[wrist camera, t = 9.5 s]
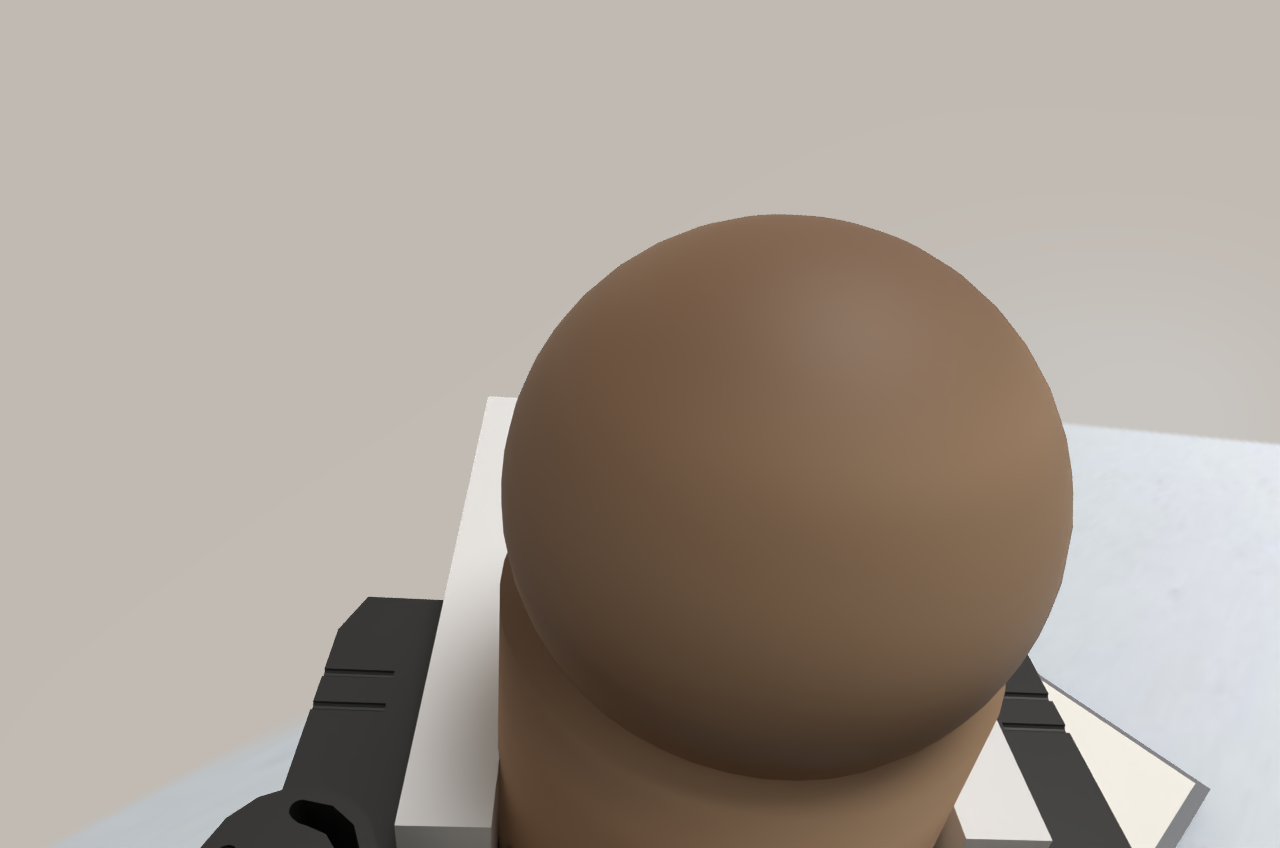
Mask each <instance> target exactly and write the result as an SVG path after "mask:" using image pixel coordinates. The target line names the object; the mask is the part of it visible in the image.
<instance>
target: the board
mask: <svg viewBox="0 0 1280 848" xmlns="http://www.w3.org/2000/svg"><path fill="white" fill-rule="evenodd" d="M1038 675H1039V674H1038ZM1039 677H1040V679H1041V680H1042V682H1043V684H1044V686H1045V688H1046V690H1047V692H1048V693H1049V694H1048V699H1049V701H1053V703H1054V705H1055V706H1056V708H1057V710H1058V712H1059V714H1060V716H1061V718H1062V719H1063V721H1064V723H1065V731H1066V733H1070V734H1071V736H1072V738H1073V740H1074V742H1075V743H1076V745H1077V747H1078V749H1079V751H1080V753H1081V755H1082V756H1083V758H1084V760H1085V762H1086V764H1087V766H1088V768H1089V769H1090V771H1091V773H1092V775H1093V777H1094V779H1095V781H1096V782H1097V784H1098V786H1099V788H1100V790H1101V792H1102V794H1103V795H1104V797H1105V799H1106V801H1107V803H1108V805H1109V807H1110V808H1111V810H1112V812H1113V814H1114V816H1115V818H1116V820H1117V821H1118V823H1119V825H1120V827H1121V829H1122V831H1123V832H1124V834H1125V836H1126V838H1127V840H1128V842H1129V844H1130V845H1131V847H1132V848H1175V847H1176V845H1177V844H1178V842H1179V840H1180V839H1181V837H1182V835H1183V834H1184V832H1185V830H1186V829H1187V827H1188V825H1189V824H1190V822H1191V820H1192V819H1193V817H1194V816H1195V814H1196V812H1197V811H1198V809H1199V807H1200V806H1201V804H1202V802H1203V801H1204V799H1205V797H1206V796H1207V794H1208V792H1209V791H1210V789H1209V788H1208V787H1206V786H1205V785H1203V784H1202V783H1200V782H1199V781H1197V780H1196V779H1194V778H1193V777H1191V776H1190V775H1188V774H1187V773H1186V772H1184V771H1183V770H1181V769H1180V768H1178V767H1177V766H1175V765H1174V764H1172V763H1171V762H1169V761H1168V760H1166V759H1165V758H1163V757H1162V756H1160V755H1159V754H1157V753H1156V752H1154V751H1153V750H1151V749H1150V748H1148V747H1147V746H1145V745H1144V744H1142V743H1141V742H1139V741H1138V740H1136V739H1135V738H1133V737H1132V736H1130V735H1129V734H1127V733H1126V732H1124V731H1123V730H1121V729H1120V728H1118V727H1117V726H1115V725H1114V724H1112V723H1111V722H1109V721H1108V720H1106V719H1105V718H1103V717H1102V716H1100V715H1099V714H1097V713H1096V712H1094V711H1093V710H1091V709H1090V708H1088V707H1087V706H1085V705H1084V704H1082V703H1081V702H1079V701H1078V700H1076V699H1075V698H1073V697H1072V696H1070V695H1069V694H1067V693H1066V692H1064V691H1063V690H1061V689H1060V688H1058V687H1057V686H1055V685H1054V684H1052V683H1051V682H1049V681H1048V680H1046V679H1045V678H1043V677H1042V676H1040V675H1039Z"/></svg>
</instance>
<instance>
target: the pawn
mask: <svg viewBox="0 0 1280 848" xmlns="http://www.w3.org/2000/svg"><path fill="white" fill-rule="evenodd" d="M501 507H502V521H503V534H504V538H505V543H506V548H507V554H506V557H505V560H504V564H503V569H502V575H501V580H500V610H499V687H498V750H499V819H498V848H933V846H934V844H935V843H936V841H937V839H938V837H939V835H940V833H941V831H942V829H943V827H944V825H945V823H946V821H947V819H948V817H949V815H950V813H951V811H952V809H953V807H954V805H955V803H956V801H957V799H958V797H959V795H960V793H961V791H962V789H963V787H964V785H965V783H966V781H967V779H968V777H969V775H970V773H971V771H972V769H973V767H974V765H975V763H976V761H977V759H978V757H979V755H980V753H981V751H982V749H983V747H984V745H985V743H986V741H987V739H988V737H989V735H990V733H991V731H992V729H993V726H994V724H995V722H996V720H997V718H998V716H999V714H1000V710H1001V706H1002V702H1003V698H1004V694H1005V687H1006V682H1007V681H1008V680H1009V679H1010V678H1011V676H1012V675H1013V674H1014V673H1015V671H1016V670H1017V669H1018V668H1019V666H1020V665H1021V664H1022V663H1023V661H1024V659H1025V658H1026V656H1027V655H1028V653H1029V651H1030V650H1031V648H1032V647H1033V645H1034V643H1035V642H1036V640H1037V639H1038V637H1039V635H1040V633H1041V631H1042V629H1043V627H1044V625H1045V623H1046V621H1047V618H1048V616H1049V614H1050V612H1051V609H1052V607H1053V604H1054V602H1055V599H1056V596H1057V594H1058V591H1059V589H1060V586H1061V584H1062V579H1063V574H1064V569H1065V564H1066V559H1067V554H1068V549H1069V544H1070V539H1071V533H1072V528H1073V482H1072V470H1071V464H1070V457H1069V451H1068V445H1067V438H1066V435H1065V432H1064V429H1063V426H1062V422H1061V419H1060V417H1059V414H1058V411H1057V408H1056V405H1055V401H1054V398H1053V396H1052V393H1051V390H1050V387H1049V386H1048V384H1047V382H1046V380H1045V378H1044V376H1043V374H1042V373H1041V370H1040V369H1039V367H1038V365H1037V363H1036V361H1035V359H1034V357H1033V356H1032V354H1031V352H1030V350H1029V349H1028V347H1027V345H1026V344H1025V342H1024V341H1023V340H1022V338H1021V337H1020V336H1019V335H1018V333H1017V332H1016V331H1015V329H1014V328H1013V327H1012V326H1011V324H1010V323H1009V322H1008V320H1007V319H1006V318H1005V317H1004V315H1003V314H1002V313H1001V312H1000V311H999V309H998V308H997V307H996V306H995V305H994V304H993V303H992V302H991V301H990V300H989V299H987V298H986V297H985V296H984V295H983V294H982V293H981V292H980V291H978V290H977V289H976V288H975V287H974V286H973V285H972V284H971V283H970V282H969V281H967V279H965V278H964V277H963V276H962V275H961V274H959V273H958V272H957V271H955V270H954V269H952V268H951V267H949V266H948V265H946V264H944V263H943V262H941V261H940V260H938V259H936V258H935V257H933V256H931V255H930V254H928V253H927V252H925V251H923V250H922V249H920V248H918V247H916V246H914V245H912V244H910V243H908V242H906V241H904V240H902V239H899V238H897V237H894V236H891V235H889V234H886V233H884V232H881V231H877V230H874V229H871V228H868V227H865V226H862V225H858V224H854V223H851V222H846V221H841V220H836V219H830V218H825V217H816V216H802V215H757V216H748V217H743V218H737V219H732V220H727V221H722V222H717V223H711V224H708V225H704V226H700V227H697V228H695V229H692V230H690V231H687V232H685V233H682V234H679V235H677V236H674V237H672V238H669V239H667V240H664V241H662V242H659V243H657V244H655V245H654V246H652V247H650V248H648V249H647V250H645V251H643V252H642V253H640V254H638V255H637V256H635V257H633V258H631V259H630V260H628V261H627V262H625V263H623V264H621V265H620V266H619V267H617V268H616V269H615V270H614V271H613V272H611V273H610V274H609V275H608V276H607V277H605V278H604V279H603V280H602V281H600V282H599V283H598V284H597V285H596V286H594V287H593V288H592V289H591V290H590V291H588V292H587V293H586V294H585V295H584V296H583V297H582V298H581V299H580V300H579V302H578V303H577V304H576V305H575V306H574V307H573V308H572V309H571V311H570V312H569V313H568V314H567V315H566V316H565V317H564V319H563V320H562V321H561V322H560V324H559V325H558V326H557V327H556V328H555V330H554V331H553V333H552V334H551V336H550V337H549V339H548V340H547V342H546V344H545V345H544V347H543V348H542V350H541V351H540V353H539V354H538V356H537V358H536V360H535V362H534V364H533V366H532V368H531V370H530V372H529V374H528V376H527V379H526V381H525V383H524V386H523V388H522V390H521V392H520V395H519V397H518V399H517V401H516V405H515V408H514V412H513V416H512V420H511V424H510V427H509V431H508V436H507V440H506V445H505V449H504V457H503V467H502V478H501Z"/></svg>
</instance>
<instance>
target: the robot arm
mask: <svg viewBox="0 0 1280 848" xmlns="http://www.w3.org/2000/svg"><path fill="white" fill-rule="evenodd" d="M517 399H518V398H508V397H492V396H488V401H487V405H486V409H485V414H484V418H483V423H482V428H481V432H480V437H479V441H478V446H477V451H476V455H475V460H474V464H473V469H472V474H471V478H470V483H469V487H468V492H467V496H466V501H465V505H464V510H463V514H462V519H461V524H460V528H459V533H458V537H457V542H456V546H455V551H454V555H453V560H452V565H451V569H450V574H449V578H448V583H447V587H446V592H445V597H444V600H427V599H404V598H382V597H368V598H367V599H366V600H365V601H364V602H363V603H362V604H361V605H360V606H359V607H358V609H357V610H356V611H355V612H354V613H353V614H352V615H351V616H350V617H349V618H348V619H347V621H346V622H345V623H344V624H343V625H342V626H341V627H340V628H339V629H338V632H337V635H336V638H335V640H334V643H333V647H332V649H331V652H330V655H329V658H328V660H327V663H326V666H325V673H324V676H322V678H321V681H320V683H319V686H318V689H317V692H316V695H315V698H314V701H313V702H314V703H313V708H312V709H310V712H309V715H308V718H307V721H306V723H305V726H304V729H303V732H302V735H301V738H300V741H299V743H298V746H297V749H296V752H295V755H294V758H293V761H292V764H291V766H290V769H289V772H288V775H287V778H286V781H285V784H284V786H283V789H282V790H281V791H277V792H274V793H271V794H267V795H264V796H261V797H258V798H256V799H255V800H253V801H252V802H250V803H249V804H247V805H246V806H244V807H243V808H241V809H239V810H238V811H236V812H235V813H233V814H232V815H230V816H229V817H227V818H226V819H225V820H224V821H223V822H222V823H221V825H220V826H219V827H218V828H217V829H216V830H215V832H214V833H213V834H212V835H211V836H210V837H209V839H208V840H207V841H206V842H205V843H204V844H203V845H202V847H201V848H498V819H499V750H498V687H499V610H500V580H501V575H502V569H503V564H504V560H505V557H506V554H507V548H506V543H505V538H504V534H503V521H502V507H501V478H502V467H503V457H504V449H505V445H506V440H507V436H508V431H509V427H510V424H511V420H512V416H513V412H514V408H515V405H516V401H517ZM1048 694H1049V693H1048V692H1047V690H1046V688H1045V686H1044V684H1043V682H1042V680H1041V679H1040V677H1039V675H1038V673H1037V671H1036V669H1035V667H1034V666H1033V664H1032V662H1031V660H1030V658H1029V656H1028V655H1027V656H1026V658H1025V659H1024V661H1023V663H1022V664H1021V665H1020V666H1019V668H1018V669H1017V670H1016V671H1015V673H1014V674H1013V675H1012V676H1011V678H1010V679H1009V680H1008V681H1007V682H1006V687H1005V694H1004V698H1003V702H1002V706H1001V710H1000V714H999V716H998V718H997V720H996V722H995V724H994V726H993V729H992V731H991V733H990V735H989V737H988V739H987V741H986V743H985V745H984V747H983V749H982V751H981V753H980V755H979V757H978V759H977V761H976V763H975V765H974V767H973V769H972V771H971V773H970V775H969V777H968V779H967V781H966V783H965V785H964V787H963V789H962V791H961V793H960V795H959V797H958V799H957V801H956V803H955V805H954V807H953V809H952V811H951V813H950V815H949V817H948V819H947V821H946V823H945V825H944V827H943V829H942V831H941V833H940V835H939V837H938V839H937V841H936V843H935V844H934V846H933V848H1132V847H1131V845H1130V844H1129V842H1128V840H1127V838H1126V836H1125V834H1124V832H1123V831H1122V829H1121V827H1120V825H1119V823H1118V821H1117V820H1116V818H1115V816H1114V814H1113V812H1112V810H1111V808H1110V807H1109V805H1108V803H1107V801H1106V799H1105V797H1104V795H1103V794H1102V792H1101V790H1100V788H1099V786H1098V784H1097V782H1096V781H1095V779H1094V777H1093V775H1092V773H1091V771H1090V769H1089V768H1088V766H1087V764H1086V762H1085V760H1084V758H1083V756H1082V755H1081V753H1080V751H1079V749H1078V747H1077V745H1076V743H1075V742H1074V740H1073V738H1072V736H1071V734H1070V733H1066V731H1065V723H1064V721H1063V719H1062V718H1061V716H1060V714H1059V712H1058V710H1057V708H1056V706H1055V705H1054V703H1053V701H1049V699H1048Z"/></svg>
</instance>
